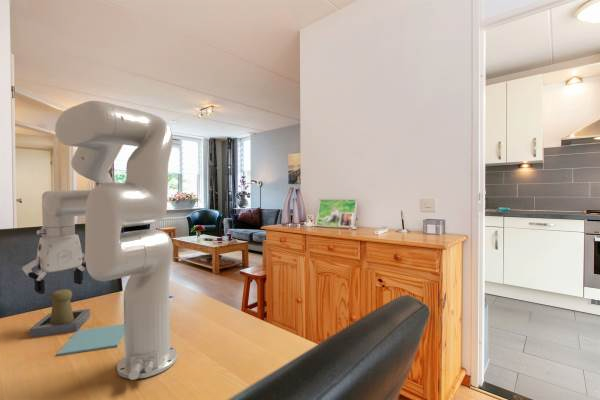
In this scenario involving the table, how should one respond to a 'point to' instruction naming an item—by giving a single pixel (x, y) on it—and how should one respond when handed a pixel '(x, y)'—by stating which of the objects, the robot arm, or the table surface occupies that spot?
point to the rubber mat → (93, 339)
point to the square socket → (59, 325)
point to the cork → (61, 307)
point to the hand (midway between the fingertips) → (60, 288)
